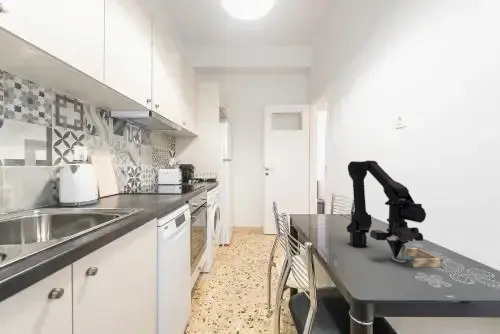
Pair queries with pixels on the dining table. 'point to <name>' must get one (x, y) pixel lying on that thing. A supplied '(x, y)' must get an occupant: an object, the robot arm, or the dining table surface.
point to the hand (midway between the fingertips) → (395, 256)
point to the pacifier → (402, 255)
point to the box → (424, 258)
